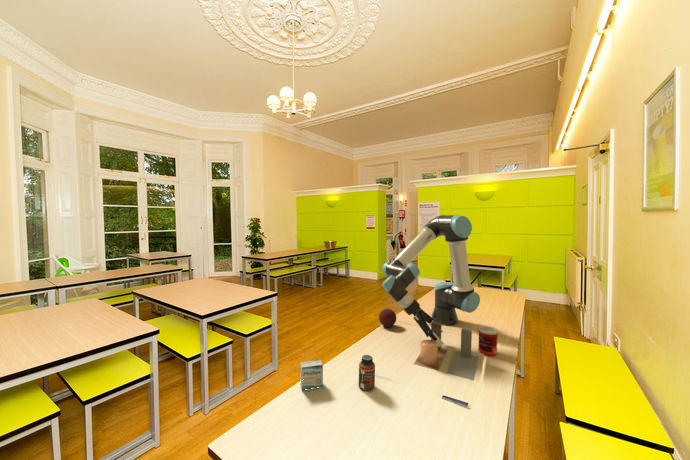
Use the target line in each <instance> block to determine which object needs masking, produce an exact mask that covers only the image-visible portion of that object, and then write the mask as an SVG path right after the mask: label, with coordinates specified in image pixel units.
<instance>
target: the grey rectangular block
mask: <svg viewBox="0 0 690 460" xmlns="http://www.w3.org/2000/svg"><path fill="white" fill-rule="evenodd" d="M460 330H461V331H460V337H461V338H460V351H457V350H454V352H453V355H452V356H451V359H450V361H449V364H448V367H447V370H446V373H445V374H449V375H452V376H456V377H459V378H463V379H467V380H470V381H474V380H475V376H476V372H477V367H478V362H479V356H478V355H475V354H472V341H473V338H472V336H473V335H472V334H473V328H469V327H465V326H464V327H463V326H462V327H461V329H460Z"/></svg>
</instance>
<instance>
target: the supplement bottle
mask: <svg viewBox="0 0 690 460" xmlns="http://www.w3.org/2000/svg"><path fill="white" fill-rule="evenodd" d="M373 359H374V357H373V356H372V355H370V354H364V355H362V356H361V360H360V361H359V364H358V388H360V390H362V391H364V392H370V391H373V390H375V389H374V388H375V381H376V379H375V378H376V364H375V362H374V361H373Z"/></svg>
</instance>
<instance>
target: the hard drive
mask: <svg viewBox="0 0 690 460" xmlns="http://www.w3.org/2000/svg"><path fill="white" fill-rule="evenodd" d="M441 399H442V400H444V401H447V402H450V403H452V404H455V405H457V406H461V407H463V408H466V409H467V408H468V406H469V402H466V401H463V400H460V399H457V398H453V397H450V396H447V395H443V394H442V396H441Z"/></svg>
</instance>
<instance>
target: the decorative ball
mask: <svg viewBox="0 0 690 460" xmlns="http://www.w3.org/2000/svg"><path fill="white" fill-rule="evenodd" d="M378 320H379V323H380V324H381V325H382V326H384V327H386V328H389V327H393V326H394V325H395V324H396V322H397V314H396V312H395V311H394V310H392V309H391V308H384V309H382V310H381V311H380V312H379V314H378Z"/></svg>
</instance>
